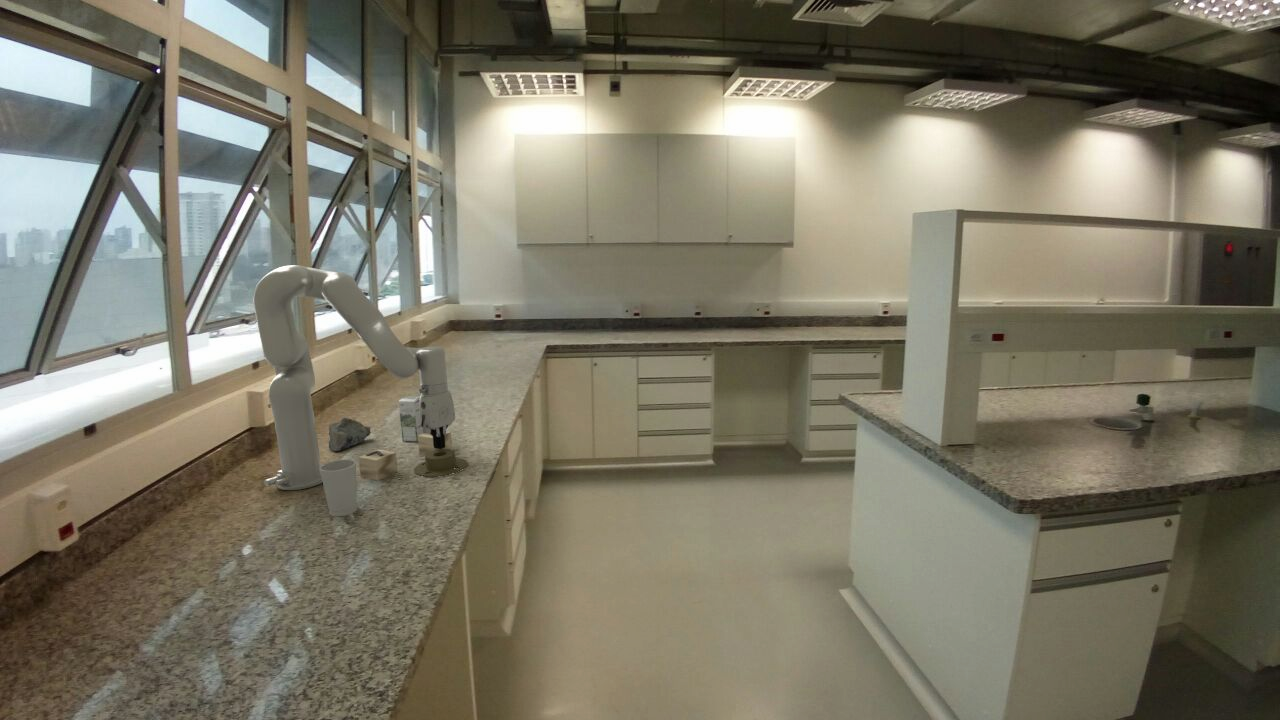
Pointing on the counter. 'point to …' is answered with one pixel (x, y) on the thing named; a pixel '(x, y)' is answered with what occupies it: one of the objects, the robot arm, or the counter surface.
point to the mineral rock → (346, 434)
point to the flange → (440, 463)
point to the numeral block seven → (378, 464)
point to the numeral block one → (427, 442)
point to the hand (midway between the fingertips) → (439, 447)
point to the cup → (340, 486)
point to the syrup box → (410, 418)
